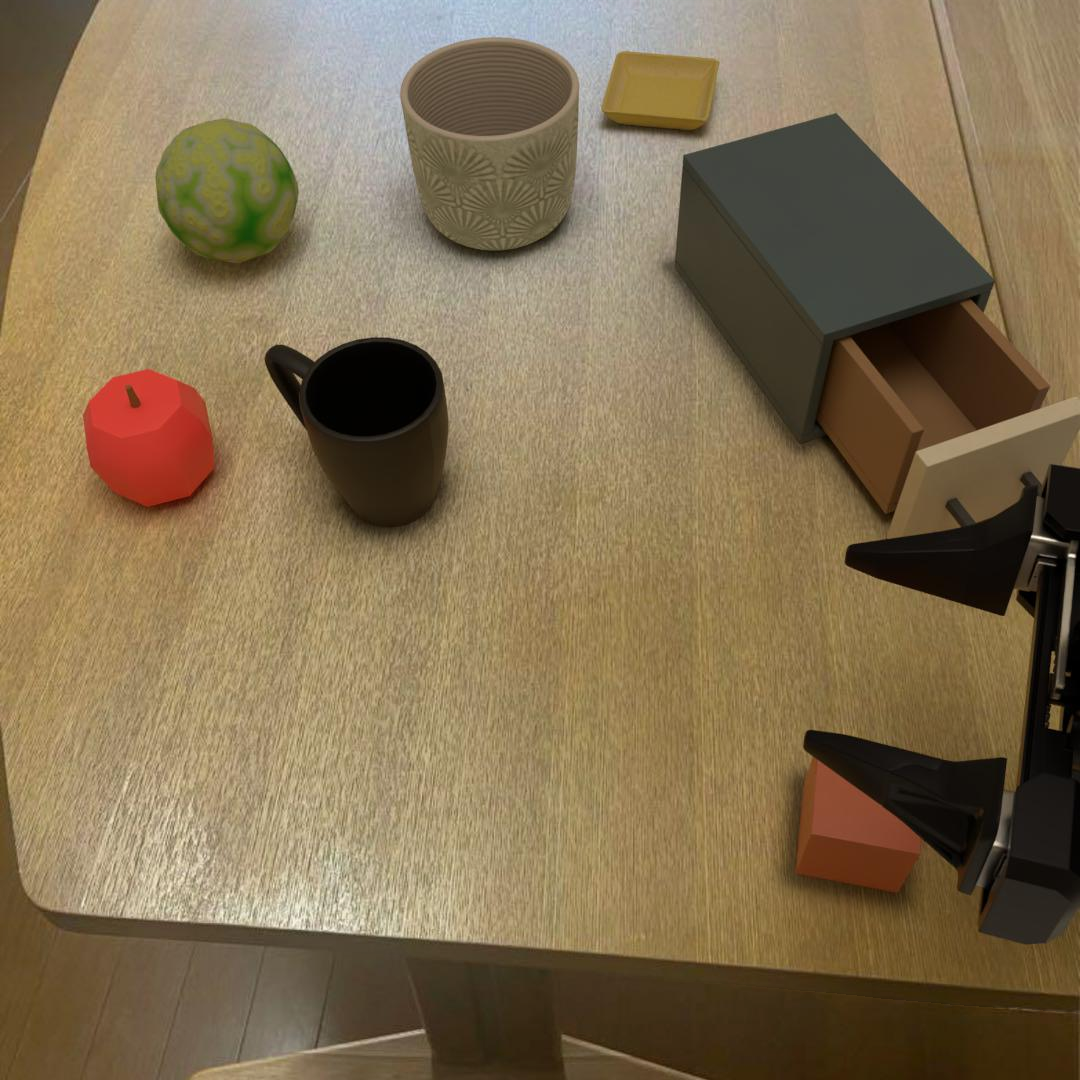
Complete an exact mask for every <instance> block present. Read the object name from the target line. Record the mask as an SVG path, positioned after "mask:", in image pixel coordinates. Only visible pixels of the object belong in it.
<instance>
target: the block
mask: <svg viewBox="0 0 1080 1080" xmlns="http://www.w3.org/2000/svg"><path fill="white" fill-rule="evenodd" d="M802 787H803V789H802V800H801V808H800V809H801V810H800V822H799V831H798V844H797V855H796V865H795V874H797V875H802V876H806V877H807V876H808V877H813V878H817V879H823V880H828V881H834V882H839V883H844V884H850V885H855V886H859V887H864V888H871V889H875V890H880V891H886V892H892V893H895V894H896V893H899V891H900V890H901V888H902V886H903V885H904V883H905V881H906V880H907V878H908V877H909V874H910V873H911V871H912V869H913V868H914V866H915V864H916V862H917V861H918V859H919V858H920V856H921V854H922V839H921V838H920V837H919V836H918V835H917V834H916V833H915V832H913V831H912V830H911V829H910V828H909V827H908V826H907V825H905V824H904V823H903V822H902V821H901V820H900V819H898V818H897V817H896V816H894V815H893V814H892V813H890V812H889V811H888V810H886V809H885V808H884V807H882V805H880V804H878V803H877V802H876V801H874V800H873V799H871V798H870V797H869V796H867V795H866V794H864V793H863V792H862V791H860V790H859V789H857V788H856V787H855V786H853V785H852V784H850V783H849V782H848V781H846V780H845V779H843V778H842V777H841V776H839V775H838V774H837V773H835V772H834V771H832V770H831V769H830V768H828V767H827V766H825V765H824V764H823V763H821V762H820V761H818V760H817V759H816V758H814V757H813V756H812V758H811V762H810V764H809V767H808V769H807V773H806V775H805V778H804V782H803V786H802Z"/></svg>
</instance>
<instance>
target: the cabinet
mask: <svg viewBox="0 0 1080 1080" xmlns="http://www.w3.org/2000/svg"><path fill="white" fill-rule="evenodd" d="M680 179H681V180H680V192H679V193H680V194H679V205H678V218H677V230H676V241H675V242H676V243H675V254H674V255H675V256H674V257H675V258H674V269H675V271H676V272H677V273H678V274H679V276H680V277H681V279H682V280H683V281H684V283H685V285H686V286H687V287H688V289H689V290H690V291H691V292H692V295H694V297H695V298H696V300H697V301H698V303H699V304H700V306H701V307H702V308H703V310H704V311H705V313H706V314H707V315H708V317H709V318H710V319H711V321H712V323H713V324H714V325H715V327H716V328H717V330H718V331H719V332H720V334H721V335H722V336H723V338H724V340H725V341H726V342H727V344H728V345H729V347H730V348H731V349H732V351H733V352H734V354H735V355H736V356H737V358H738V359H739V361H740V362H741V364H742V365H743V367H745V369H746V370H747V372H748V373H749V375H750V376H751V378H752V379H753V380H754V382H755V383H756V385H757V386H758V387H759V389H760V390H761V392H762V393H763V394H764V396H765V397H766V399H767V400H768V401H769V403H770V404H771V406H772V407H773V409H774V410H775V411H776V413H777V414H778V415H779V417H780V418H781V420H782V421H783V423H784V424H785V425H786V427H787V428H788V430H789V431H790V432H791V434H792V435H793V436H794V438H795V440H796V441H797V442H798V444H799V445H803V444H804V443H807V442H811V441H814V440H817V439H820V438H822V437H825V436H828V435H827V433H826V432H825V431H824V429H823V428H822V427H821V425H820V424H819V423H818V421H817V420H816V414H817V410H818V405H819V401H820V397H821V392H822V388H823V384H824V379H825V375H826V371H827V366H828V362H829V358H830V353H831V349H832V345H833V341H834V340H837V339H840V338H843V337H846V336H849V335H853V334H856V333H859V332H862V331H865V330H868V329H871V328H875V327H878V326H881V325H884V324H887V323H890V322H893V321H897V320H900V319H903V318H906V317H909V316H912V315H916V314H919V313H922V312H925V311H928V310H931V309H934V308H938V307H941V306H944V305H947V304H950V303H953V302H956V301H960V300H963V299H966V298H970V299H971V300H972V301H973V302H974V303H975V304H976V305H977V306H978V308H979V309H980V310H981V311H982V312H983V313H984V312H985V310H986V307H987V304H988V302H989V299H990V296H991V294H992V291H993V288H994V285H995V283H996V279H994V278H993V276H992V275H991V274H990V273H989V272H988V271H987V270H986V269H985V268H984V267H983V266H982V265H981V264H980V263H979V262H978V261H977V259H975V257H974V256H973V255H972V254H971V253H970V252H969V251H968V250H967V249H966V248H965V247H964V246H963V245H962V243H961V242H960V241H959V240H958V239H957V238H956V237H954V235H953V234H952V233H951V232H950V231H949V230H948V229H947V228H946V227H945V225H943V223H941V222H940V220H939V219H938V218H937V217H936V216H935V215H934V214H933V213H932V212H931V211H930V210H929V209H928V208H927V207H926V205H924V203H922V202H921V200H920V199H919V198H918V197H917V196H916V195H915V194H914V193H913V192H912V190H910V189H909V188H908V186H906V184H904V182H903V181H901V179H900V178H899V177H898V176H897V175H896V174H895V173H894V172H893V170H891V169H890V168H889V167H888V165H886V163H884V161H883V160H882V159H881V158H880V157H879V156H878V155H877V154H876V153H875V152H874V151H873V150H872V149H871V147H870V146H868V145H867V144H866V142H865V141H864V140H863V139H862V138H861V137H860V136H859V135H858V134H857V133H856V132H855V131H854V130H853V129H852V127H850V125H848V124H847V122H845V120H844V119H843V118H842V117H841V115H839V114H838V113H837V112H835V113H832V114H828V115H827V114H826V115H824V116H820V117H817V118H813V119H809V120H806V121H802V122H798V123H795V124H791V125H787V126H783V127H781V128H775V129H772V130H769V131H765V132H762V133H758V134H755V135H754V134H753V135H751V136H747V137H745V138H740V139H737V140H733V141H730V142H726V143H722V144H718V145H714V146H711V147H708V148H704V149H699V150H696V151H693V152H689V153H686V154H683V156H682V168H681V178H680ZM984 314H985V313H984Z"/></svg>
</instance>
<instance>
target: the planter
mask: <svg viewBox="0 0 1080 1080" xmlns="http://www.w3.org/2000/svg"><path fill="white" fill-rule="evenodd" d="M399 94H400V95H399V97H400V104H401V108H402V109H401V110H402V114H403V120H404V127H405V132H406V138H407V143H408V149H409V155H410V160H411V161H410V162H411V166H412V170H413V171H412V172H413V175H414V180H415V185H416V189H417V193H418V196H419V199H420V202H421V205H422V207H423V210H424V212H425V214H426V217H427V218H428V220H429V221H430V223H431V224H432V225H433V227H434V228H435V229H436V230H437V231H438V232H439V233H441V234H442V235H443V236H444V237H446V238H447V239H449V240H450V241H453V242H455V243H456V244H459V245H461V246H464V247H468V248H471V249H476V250H481V251H495V252H497V251H507V250H513V249H518V248H522V247H526V246H528V245H531V244H533V243H535V242H537V241H539V240H540V239H543V238H545V237H546V236H547V235H549V234H550V233H551V232H552V231H554V230H555V229H556V228H557V227H558V225H559V224H560V223H561V222H562V221H563V219H564V217H565V216H566V214H567V212H568V210H569V207H570V205H571V202H572V198H573V197H572V196H573V193H574V187H575V181H576V172H577V160H578V159H577V157H578V136H579V107H580V106H579V105H580V104H579V103H580V80H579V77H578V74H577V72H576V70H575V68H574V66H572V64H571V63H570V62H569V61H568V60H567V59H566V57H564V56H563V55H561V54H560V53H559V52H557V51H555V50H553V49H552V48H549V47H547V46H545V45H542V44H540V43H537V42H533V41H529V40H525V39H520V38H513V37H492V36H491V37H478V38H470V39H466V40H461V41H457V42H453V43H450V44H447V45H444V46H442V47H440V48H437V49H435V50H433V51H431V52H430V53H428V54H426V55H424V56H423V57H422V58H420V59H419V60H418V61H417V62H415V63H414V64H413V65H412V66H411V67H410V68H409V70H408V71H407V72H406V74H405V75H404V77H403V79H402V81H401V85H400V89H399Z"/></svg>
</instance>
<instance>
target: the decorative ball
mask: <svg viewBox="0 0 1080 1080" xmlns="http://www.w3.org/2000/svg"><path fill="white" fill-rule="evenodd" d="M293 170H294V169H293V168H292V166H291V164H290V162H289V161H288V159H287V156H285V153H284V152H283V151H282V149H281V148H280V147H279V146H278V144H277V143H276V142H274V141H273V140H272V138H271V137H269V136H268V135H267V134H265V133H264V132H263V131H262V130H261V129H259V128H258V127H257V126H256V125H253V124H251V123H248V122H243V121H237V120H235V119H231V118H227V117H222V118H217V119H212V120H207V121H204V122H200V123H197V124H195V125H191V126H188V127H185V128H184V129H182V130H181V131H179V133H178V134H176V135H175V136H174V137H173V138H172V140H171V141H170V143H169V144H168V145H167V146H165V149H164V150H163V152H162V155H161V158H160V161H159V162H158V165H157V167H156V170H155V177H154V178H155V189H156V201H157V208H158V212H159V214H160V216H161V218H162V219H163V220H164V222H165V224H166V225H167V227H168V228H169V230H170V232H171V233H172V235H174V236H175V237H176V238H177V239H178V240H179V241H180V242H181V243H182V244H183V245H184V246H185V247H187V248H188V249H189V250H190V251H191V252H193V253H194V254H195V255H197V256H200V257H202V258H206V259H209V260H210V259H211V260H214V261H220V262H226V263H232V264H233V263H234V264H240V263H243V262H247V261H251V260H253V259H255V258H258V257H261V256H264V255H266V254H269V253H270V252H272V251H273V250H274V249H275V248H276V247H277V246H278V245H279V243H280V242H281V241H282V240H283V238H284V237H285V236H286V234H287V232H288V231H289V229H290V227H291V225H292V223H293V220H294V216H295V215H296V209H297V206H298V205H297V204H298V200H299V199H298V198H299V193H300V192H299V182H298V180H297V177H296V175H295V173H294V171H293Z"/></svg>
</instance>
